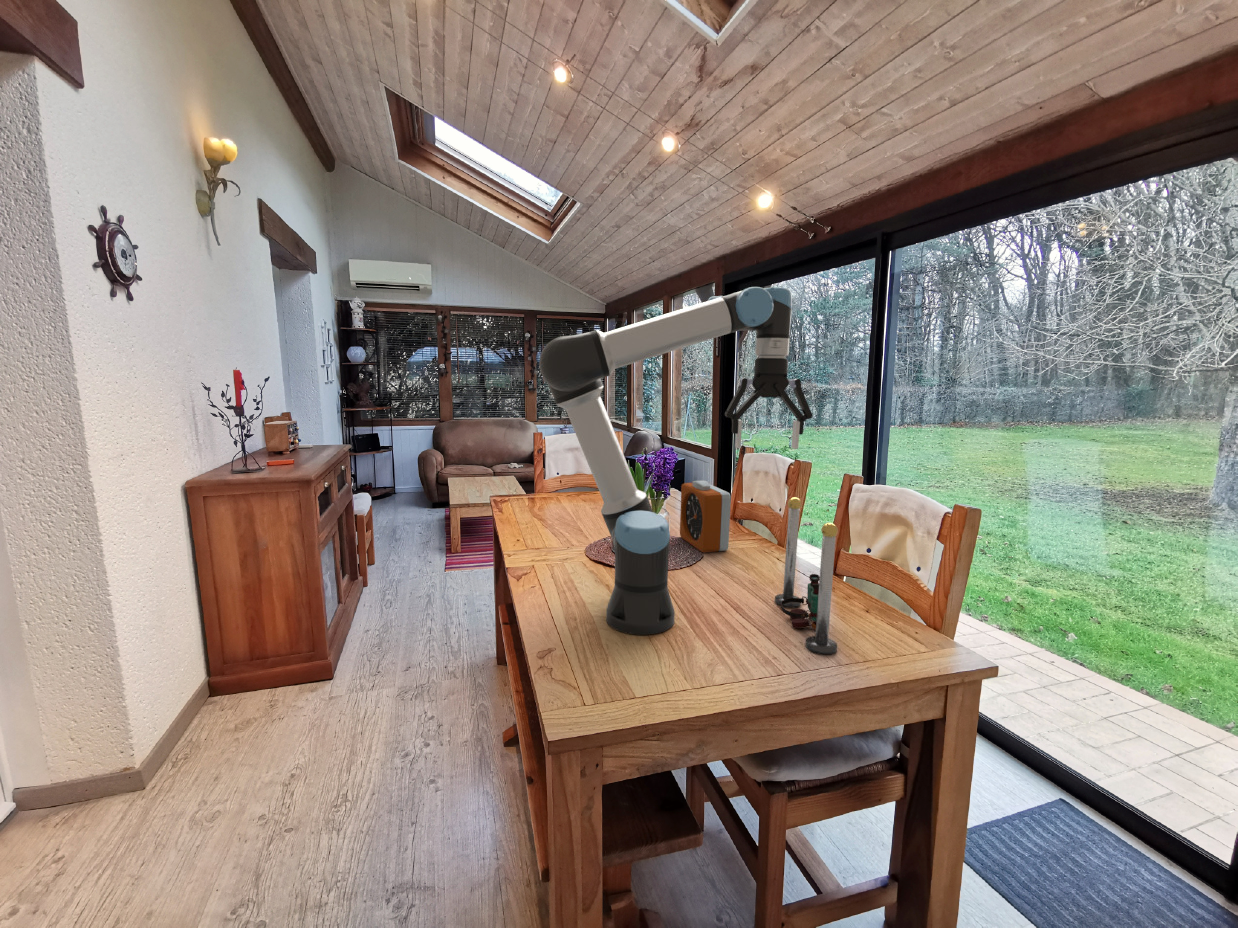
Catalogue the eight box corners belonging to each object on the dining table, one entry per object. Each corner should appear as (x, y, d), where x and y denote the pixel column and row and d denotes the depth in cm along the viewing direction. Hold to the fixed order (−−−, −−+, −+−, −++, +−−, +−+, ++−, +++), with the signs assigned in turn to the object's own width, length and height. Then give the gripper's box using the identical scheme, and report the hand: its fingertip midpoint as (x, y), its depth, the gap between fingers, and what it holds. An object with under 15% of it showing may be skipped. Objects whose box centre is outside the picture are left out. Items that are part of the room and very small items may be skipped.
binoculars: (778, 572, 129) (824, 571, 126) (780, 616, 130) (825, 616, 128) (781, 586, 120) (830, 586, 118) (783, 633, 121) (832, 634, 119)
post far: (778, 607, 133) (786, 500, 128) (771, 597, 139) (778, 494, 134) (804, 608, 133) (812, 500, 128) (796, 597, 139) (803, 494, 134)
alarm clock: (678, 536, 187) (680, 476, 184) (702, 534, 190) (705, 474, 187) (703, 554, 170) (705, 487, 167) (729, 551, 173) (732, 486, 169)
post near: (811, 654, 111) (820, 527, 107) (801, 640, 117) (809, 518, 113) (841, 654, 111) (851, 527, 107) (829, 640, 117) (839, 519, 113)
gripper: (720, 356, 127) (716, 449, 131) (831, 358, 127) (824, 450, 131) (715, 357, 135) (711, 444, 139) (819, 358, 135) (813, 446, 139)
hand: (766, 448), depth 135 cm, fingers open, 13 cm apart
